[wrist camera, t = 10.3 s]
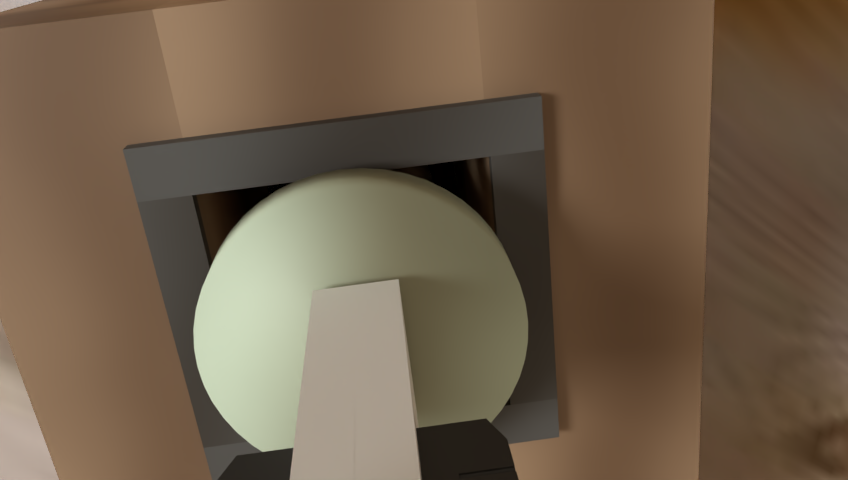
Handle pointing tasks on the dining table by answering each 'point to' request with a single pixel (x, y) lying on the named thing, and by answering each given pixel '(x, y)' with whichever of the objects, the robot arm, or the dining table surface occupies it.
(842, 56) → the dining table surface
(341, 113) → the socket block
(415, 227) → the peg
